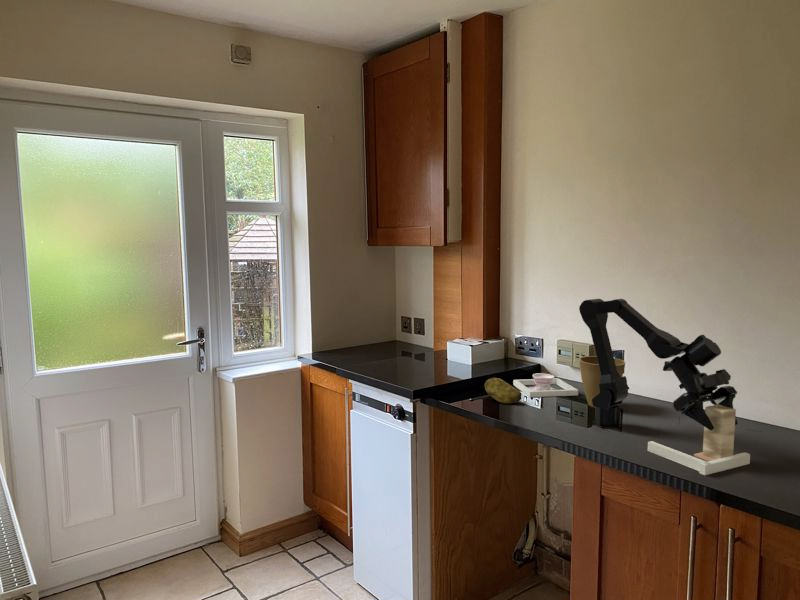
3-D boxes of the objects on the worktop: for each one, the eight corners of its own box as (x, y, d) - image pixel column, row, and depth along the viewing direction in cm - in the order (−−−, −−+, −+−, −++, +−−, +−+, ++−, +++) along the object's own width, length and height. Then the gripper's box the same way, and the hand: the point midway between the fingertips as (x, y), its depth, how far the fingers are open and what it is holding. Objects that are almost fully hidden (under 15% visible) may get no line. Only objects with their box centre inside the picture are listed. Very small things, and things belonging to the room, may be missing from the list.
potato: (508, 407, 200) (508, 384, 199) (480, 399, 210) (480, 377, 209) (524, 403, 205) (524, 380, 204) (496, 395, 215) (496, 374, 214)
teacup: (565, 393, 219) (566, 377, 219) (542, 397, 213) (543, 381, 212) (542, 386, 229) (542, 370, 229) (519, 390, 223) (519, 374, 222)
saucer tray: (529, 397, 213) (530, 391, 213) (513, 384, 231) (513, 379, 231) (578, 395, 215) (578, 390, 215) (557, 383, 234) (558, 378, 233)
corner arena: (644, 451, 159) (645, 442, 159) (688, 441, 166) (688, 433, 166) (704, 475, 143) (705, 465, 143) (749, 463, 150) (750, 454, 150)
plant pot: (581, 411, 196) (582, 364, 194) (575, 399, 211) (576, 355, 209) (628, 413, 194) (629, 365, 192) (618, 400, 208) (620, 356, 207)
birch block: (702, 454, 155) (705, 406, 154) (715, 451, 157) (717, 404, 156) (720, 461, 150) (723, 411, 149) (732, 458, 153) (735, 409, 151)
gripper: (684, 362, 151) (722, 416, 142) (732, 356, 159) (770, 406, 150) (658, 385, 159) (691, 438, 150) (704, 378, 167) (739, 427, 158)
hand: (724, 427), depth 152 cm, fingers open, 9 cm apart
